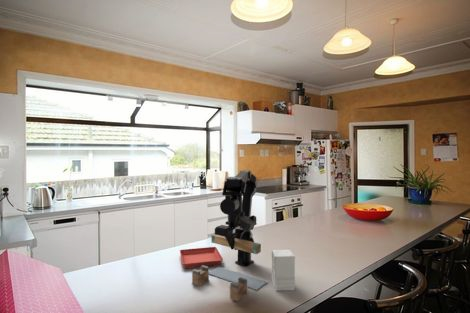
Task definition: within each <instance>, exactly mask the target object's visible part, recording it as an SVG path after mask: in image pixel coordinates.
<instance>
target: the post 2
mask: <svg viewBox="0 0 470 313" xmlns="http://www.w3.org/2000/svg"><path fill="white" fill-rule="evenodd" d="M229 284H230V285H229V299H230V300H233V301H236V302H239V301H240V300H241V299H242V298H244V297H245V296H247V295H248V288H247V279H244V278H241V277H240V278H238V282H237V283H233V282H229Z"/></svg>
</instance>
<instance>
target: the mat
mask: <svg viewBox="0 0 470 313" xmlns="http://www.w3.org/2000/svg"><path fill="white" fill-rule="evenodd" d="M209 276H212V277H215V278H218V279H222V280H224V281H227V282H229V283H232V282H233V283H237V282H238V278H240V277H241V278H244V279H247V289H250V290H253V291H259V290H260V289H261V288H263V287H264V286H265V285H266V284H267V283H268V281H266V280H263V279H261V278H257V277H254V276H250V275H248V274H244V273H241V272H238V271H235V270H231V269H228V268H225V267H222V266H218V267H216V268H214V269H211V270H209Z"/></svg>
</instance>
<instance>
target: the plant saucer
mask: <svg viewBox="0 0 470 313" xmlns="http://www.w3.org/2000/svg"><path fill="white" fill-rule="evenodd" d="M179 254H180V260H181V264H182V266H183V267H184V268H185V269H193V268H195V269H196V268H201V266H202V265H204V266H207V267H211V266H212V267H213V266H219V265H220V264H221V263H222V262H223V261H224V259H223V257H222V254H220V252H219V249H218V248H217V247H216V246H209V247H197V248H188V249H187V248H185V249H180V250H179Z"/></svg>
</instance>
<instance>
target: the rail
mask: <svg viewBox="0 0 470 313" xmlns="http://www.w3.org/2000/svg"><path fill="white" fill-rule="evenodd" d="M210 237H211V243H212V244H216V245H220V246H223V247H227V248H230V246H229V244H228V241H227V239H226V238H225V237H224V236H220V235H216V234H215V233H213V234H211V236H210ZM234 248H235V249H239V250H242V251H246V252H250V253H251V254H253V255H258V254H260V253H261V252H262V243H259V242H256V241H254V242H250V241H246V240H242V239H238V238H235V243H234Z"/></svg>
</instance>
